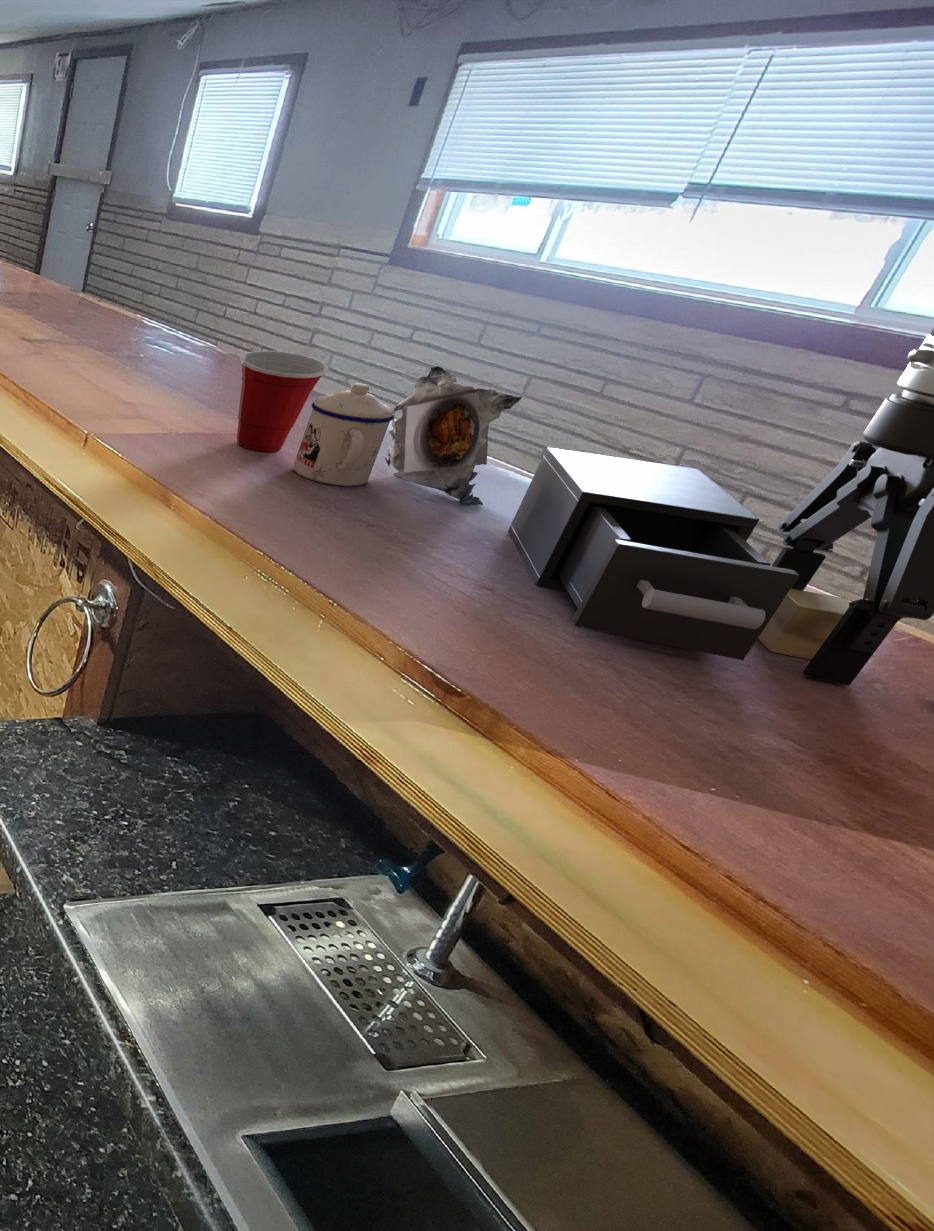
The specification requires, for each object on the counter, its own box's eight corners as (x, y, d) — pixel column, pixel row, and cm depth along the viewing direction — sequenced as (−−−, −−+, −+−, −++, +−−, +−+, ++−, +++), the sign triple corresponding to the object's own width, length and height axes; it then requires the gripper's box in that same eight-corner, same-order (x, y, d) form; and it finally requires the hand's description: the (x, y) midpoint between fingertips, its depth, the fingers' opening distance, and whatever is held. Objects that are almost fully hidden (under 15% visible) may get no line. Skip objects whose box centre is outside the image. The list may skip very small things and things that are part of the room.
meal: (487, 505, 108) (536, 396, 101) (456, 505, 107) (503, 396, 101) (399, 464, 121) (437, 365, 114) (371, 464, 120) (407, 365, 114)
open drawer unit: (764, 685, 71) (825, 596, 67) (586, 647, 75) (633, 562, 71) (684, 592, 86) (731, 515, 82) (540, 565, 90) (577, 491, 86)
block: (814, 642, 80) (845, 597, 78) (837, 665, 76) (871, 619, 74) (749, 630, 82) (778, 585, 79) (769, 651, 78) (800, 606, 76)
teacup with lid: (286, 460, 120) (314, 372, 114) (360, 469, 118) (393, 380, 112) (299, 489, 110) (331, 394, 105) (381, 500, 108) (418, 404, 102)
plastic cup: (216, 451, 123) (241, 361, 117) (217, 430, 131) (240, 346, 125) (303, 463, 119) (334, 372, 113) (298, 442, 128) (326, 356, 122)
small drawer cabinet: (699, 617, 83) (760, 519, 79) (535, 585, 88) (583, 491, 83) (648, 556, 96) (698, 468, 91) (507, 531, 101) (547, 447, 96)
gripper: (823, 364, 79) (691, 582, 90) (989, 433, 60) (796, 699, 71) (939, 376, 76) (788, 600, 87) (1151, 453, 57) (925, 727, 68)
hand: (791, 645), depth 79 cm, fingers open, 12 cm apart
